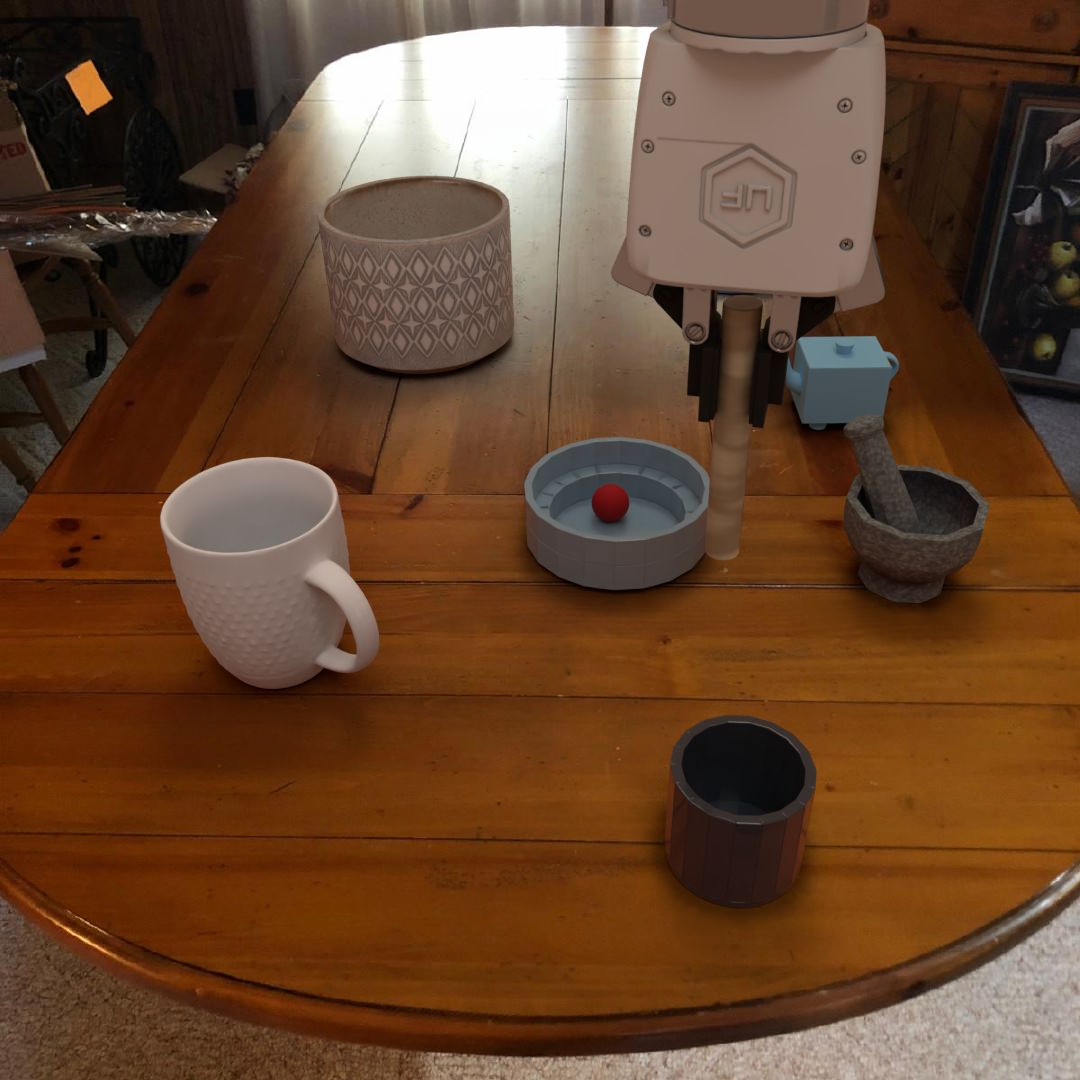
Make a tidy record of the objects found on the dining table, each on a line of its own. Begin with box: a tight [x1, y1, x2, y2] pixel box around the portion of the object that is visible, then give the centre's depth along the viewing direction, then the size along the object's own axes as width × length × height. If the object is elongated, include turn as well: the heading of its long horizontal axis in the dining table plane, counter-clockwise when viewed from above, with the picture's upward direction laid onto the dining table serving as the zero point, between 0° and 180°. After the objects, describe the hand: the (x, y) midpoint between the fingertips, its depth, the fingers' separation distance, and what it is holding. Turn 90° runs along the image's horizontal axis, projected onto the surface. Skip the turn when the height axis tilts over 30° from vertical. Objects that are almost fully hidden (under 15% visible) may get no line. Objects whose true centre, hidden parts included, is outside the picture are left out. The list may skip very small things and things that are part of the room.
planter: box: [316, 175, 515, 375], centre depth 111 cm, size 19×19×14 cm
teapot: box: [785, 335, 900, 431], centre depth 99 cm, size 12×6×8 cm, turn 89°
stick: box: [705, 294, 764, 561], centre depth 54 cm, size 2×2×14 cm
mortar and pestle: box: [843, 414, 990, 604], centre depth 79 cm, size 11×9×12 cm
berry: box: [592, 484, 629, 522], centre depth 87 cm, size 3×3×3 cm
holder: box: [664, 714, 818, 909], centre depth 60 cm, size 8×8×7 cm
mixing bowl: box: [523, 436, 710, 591], centre depth 85 cm, size 14×14×5 cm
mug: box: [159, 456, 380, 690], centre depth 71 cm, size 15×11×13 cm
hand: (734, 408), depth 53 cm, fingers closed on stick, 1 cm apart
